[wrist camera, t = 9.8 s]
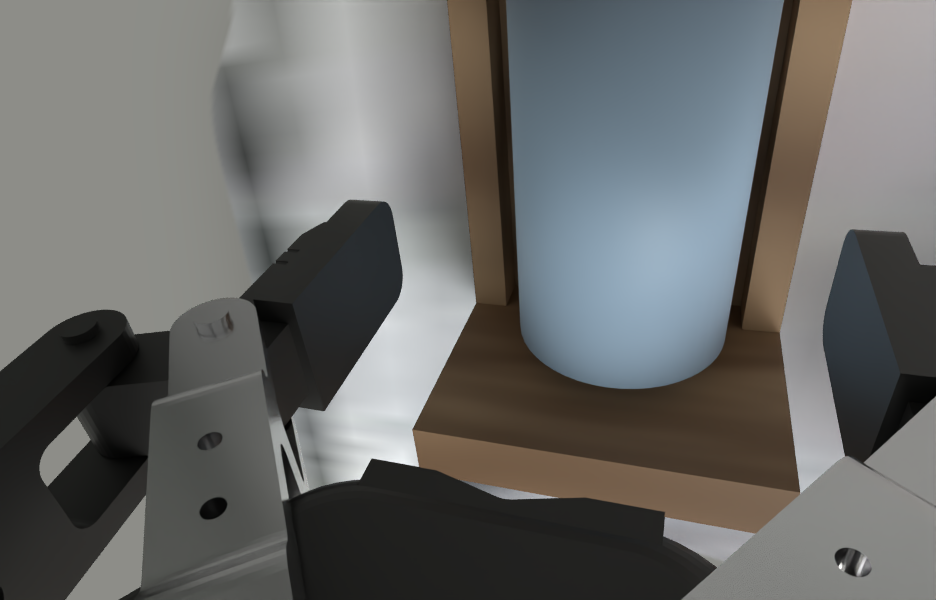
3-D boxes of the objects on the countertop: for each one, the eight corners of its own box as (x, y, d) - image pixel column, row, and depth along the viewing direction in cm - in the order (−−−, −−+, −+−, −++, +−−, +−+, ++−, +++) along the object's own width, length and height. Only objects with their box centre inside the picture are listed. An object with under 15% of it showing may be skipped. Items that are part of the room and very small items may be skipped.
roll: (574, -71, 16) (451, -34, 13) (819, -78, 14) (754, -33, 10) (571, 263, 22) (484, 358, 18) (746, 304, 19) (687, 427, 15)
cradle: (461, -165, 16) (302, -162, 10) (876, -213, 14) (1014, -250, 7) (496, 305, 24) (420, 472, 18) (765, 332, 21) (787, 539, 15)
